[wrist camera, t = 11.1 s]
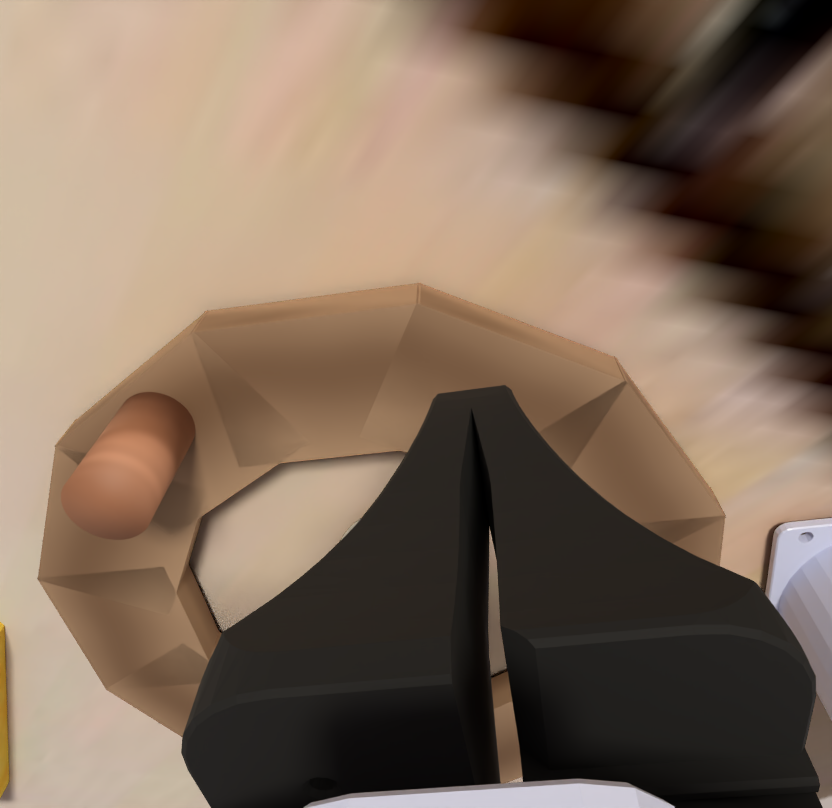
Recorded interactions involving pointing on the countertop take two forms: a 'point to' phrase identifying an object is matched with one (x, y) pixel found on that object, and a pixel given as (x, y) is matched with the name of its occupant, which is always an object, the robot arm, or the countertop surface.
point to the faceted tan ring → (315, 439)
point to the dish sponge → (3, 716)
